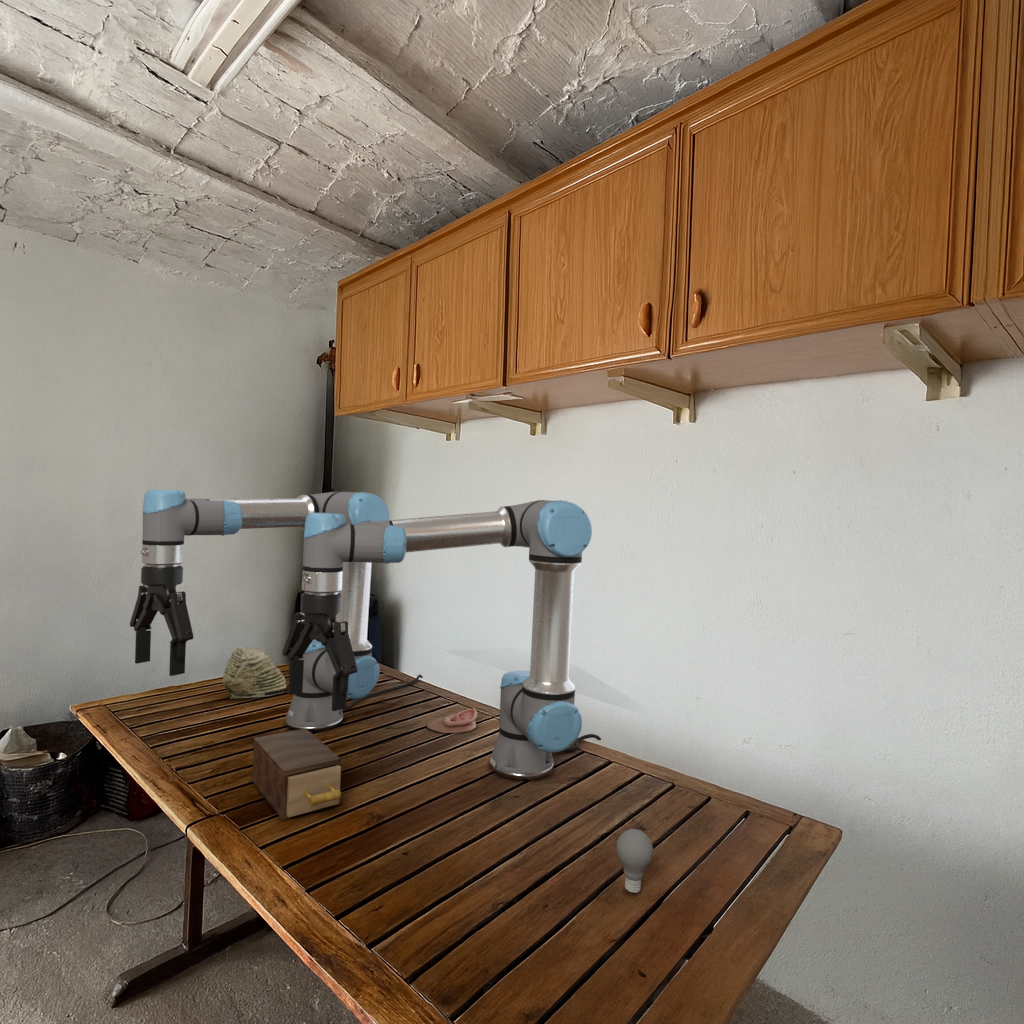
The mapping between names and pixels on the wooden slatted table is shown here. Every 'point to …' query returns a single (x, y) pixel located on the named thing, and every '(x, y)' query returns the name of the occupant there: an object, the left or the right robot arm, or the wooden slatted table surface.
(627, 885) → the light bulb
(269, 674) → the fossil
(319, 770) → the drawer
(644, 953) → the wooden slatted table surface
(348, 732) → the wooden slatted table surface
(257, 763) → the cabinet
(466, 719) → the anatomical model
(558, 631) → the right robot arm
